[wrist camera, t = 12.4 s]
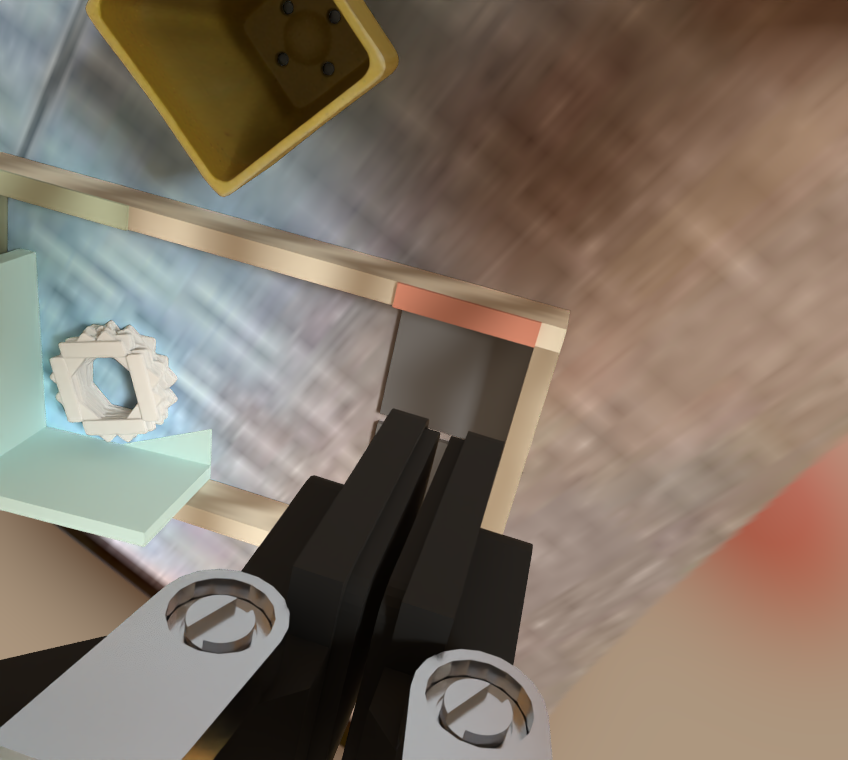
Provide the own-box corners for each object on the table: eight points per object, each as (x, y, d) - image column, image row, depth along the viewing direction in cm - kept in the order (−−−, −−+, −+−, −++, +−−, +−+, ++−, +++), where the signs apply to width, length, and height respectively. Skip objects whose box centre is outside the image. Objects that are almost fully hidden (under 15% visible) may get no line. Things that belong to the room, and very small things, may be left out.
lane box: (570, 310, 40) (564, 343, 35) (484, 585, 47) (470, 641, 42) (-13, 147, 43) (-86, 158, 39) (-10, 425, 51) (-72, 462, 46)
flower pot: (439, 66, 37) (390, 70, 29) (298, 172, 40) (218, 202, 32) (329, -111, 35) (243, -160, 27) (191, 15, 39) (78, 4, 30)
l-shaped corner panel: (210, 478, 48) (144, 547, 42) (32, 435, 50) (-60, 494, 43) (216, 288, 44) (142, 331, 37) (19, 248, 45) (-86, 282, 39)
